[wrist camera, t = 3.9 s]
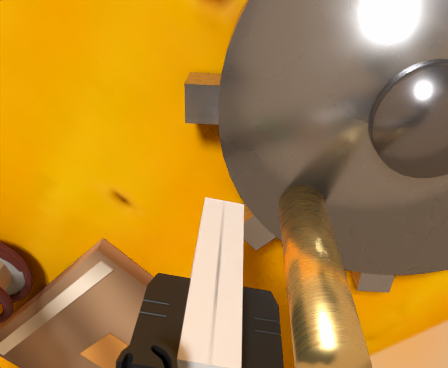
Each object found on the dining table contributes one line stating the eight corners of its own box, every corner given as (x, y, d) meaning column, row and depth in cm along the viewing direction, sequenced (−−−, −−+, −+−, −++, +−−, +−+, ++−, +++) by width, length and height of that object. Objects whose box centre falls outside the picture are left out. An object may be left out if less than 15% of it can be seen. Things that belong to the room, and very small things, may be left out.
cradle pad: (103, 238, 22) (96, 251, 21) (249, 351, 26) (249, 366, 25) (-10, 332, 26) (-19, 346, 25) (129, 416, 30) (125, 431, 29)
